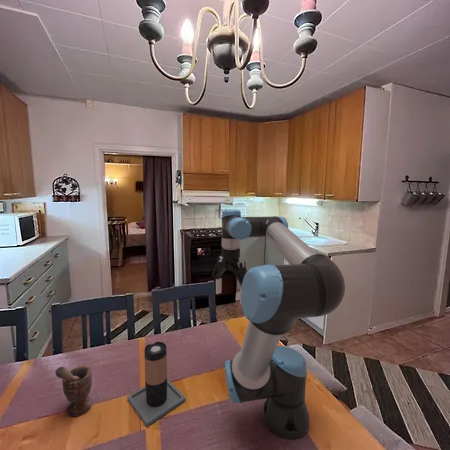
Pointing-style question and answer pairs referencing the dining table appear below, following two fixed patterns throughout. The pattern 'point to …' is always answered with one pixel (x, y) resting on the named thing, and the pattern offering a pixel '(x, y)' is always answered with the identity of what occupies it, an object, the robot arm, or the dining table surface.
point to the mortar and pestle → (76, 388)
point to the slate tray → (155, 413)
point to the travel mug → (156, 374)
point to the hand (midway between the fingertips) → (230, 298)
